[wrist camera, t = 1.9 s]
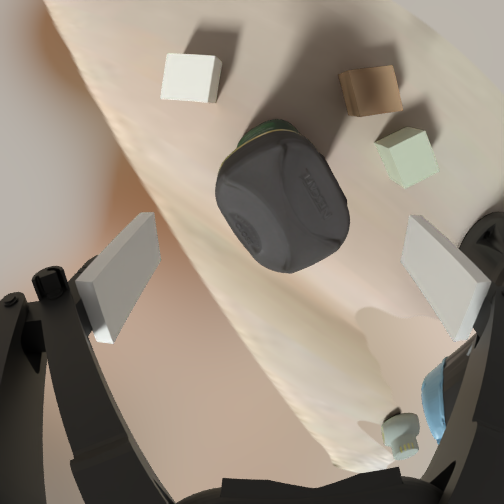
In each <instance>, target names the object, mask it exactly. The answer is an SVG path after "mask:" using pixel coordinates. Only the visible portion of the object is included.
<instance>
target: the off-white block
mask: <svg viewBox="0 0 504 504" xmlns="http://www.w3.org/2000/svg"><path fill="white" fill-rule="evenodd" d="M221 68H222V62H221V61H220V60H219V59H218V58H217V57H216V56H210V55H196V54H172V53H167V58H166V64H165V70H164V76H163V83H162V90H161V97H160V99H171V100H184V101H196V102H206V103H216V98H217V92H218V86H219V80H220V74H221Z"/></svg>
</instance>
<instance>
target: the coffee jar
mask: <svg viewBox="0 0 504 504" xmlns="http://www.w3.org/2000/svg"><path fill="white" fill-rule="evenodd" d="M215 195H216V201H217V204H218V207H219V209H220V211H221V213H222V214H223V216H224V217H225V219H226V221H227V223H228V224H229V226H230V227H231V229H232V230H233V232H234V233H235V235H236V236H237V238H238V239H239V240H240V242H241V243H242V244H243V245H244V247H245V248H246V249H247V250H248V251H249V253H250V254H251V255H252V257H253V258H254V259H255V260H256V261H257V262H258V263H260V264H261V265H262V266H264V267H266V268H268V269H270V270H273V271H276V272H281V273H289V274H290V273H294V272H297V271H299V270H302V269H304V268H307V267H309V266H311V265H313V264H315V263H317V262H319V261H321V260H323V259H325V258H326V257H328V256H330V255H331V254H333V253H334V252H336V251H337V250H338V249H339V248H340V246H341V245H342V244H343V242H344V241H345V239H346V237H347V234H348V231H349V226H350V216H349V210H348V207H347V199H346V197H345V195H344V193H343V192H342V190H341V188H340V186H339V184H338V182H337V180H336V178H335V177H334V175H333V173H332V171H331V169H330V167H329V165H328V163H327V161H326V160H325V158H324V156H323V155H322V154H320V153H318V151H317V150H316V148H315V147H314V146H313V144H312V143H311V142H310V141H309V140H308V139H306V138H305V137H304V136H302V135H301V134H300V133H299V132H298V131H297V130H296V129H295V127H294V126H292V125H291V124H290V123H288V122H286V121H284V120H279V119H275V120H270V121H267V122H264V123H262V124H260V125H258V126H257V127H255V128H253V129H252V130H250V131H249V132H248V133H246V134H245V135H244V136H243V137H242V138H241V140H240V141H239V143H238V145H237V148H236V149H235V150H234V151H233V152H232V153H231V154H230V155H229V156H228V157H227V158H226V159H225V160H224V161H223V163H222V164H221V167H220V169H219V172H218V177H217V182H216V188H215Z"/></svg>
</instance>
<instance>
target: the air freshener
mask: <svg viewBox="0 0 504 504" xmlns="http://www.w3.org/2000/svg"><path fill="white" fill-rule="evenodd" d="M381 427H382V428H381V430H382V438H383V442H384V445H386V446H390V447H391V448H392V452H393V456H394V459H396V460H403V459H407V458H409V457H411V456H413V455H415V454H416V453H417V452H418V450H419V447H418V444H417V440H416V436H417V435H418V434H419V429H420V426H419V419H418V416H417V415H416V414H413V413H403V414H399V415H396V416H393V417H392V418H390V419H388V420H387V421H386V422H385V423H384V424H383V425H382V426H381Z"/></svg>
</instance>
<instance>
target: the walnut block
mask: <svg viewBox="0 0 504 504" xmlns="http://www.w3.org/2000/svg"><path fill="white" fill-rule="evenodd" d="M338 76H339V80H340V84H341V88H342V91H343V95H344V99H345V103H346V107H347V112H348V115H350V116H357V117H363V116H369V115H375V114H382V113H389V112H397V111H403V107H402V102H401V98H400V93H399V89H398V84H397V80H396V76H395V72H394V68H393V65H390V66H379V67H370V68H362V69H354V70H348V71H345V72H343V73H341V74H338Z"/></svg>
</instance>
